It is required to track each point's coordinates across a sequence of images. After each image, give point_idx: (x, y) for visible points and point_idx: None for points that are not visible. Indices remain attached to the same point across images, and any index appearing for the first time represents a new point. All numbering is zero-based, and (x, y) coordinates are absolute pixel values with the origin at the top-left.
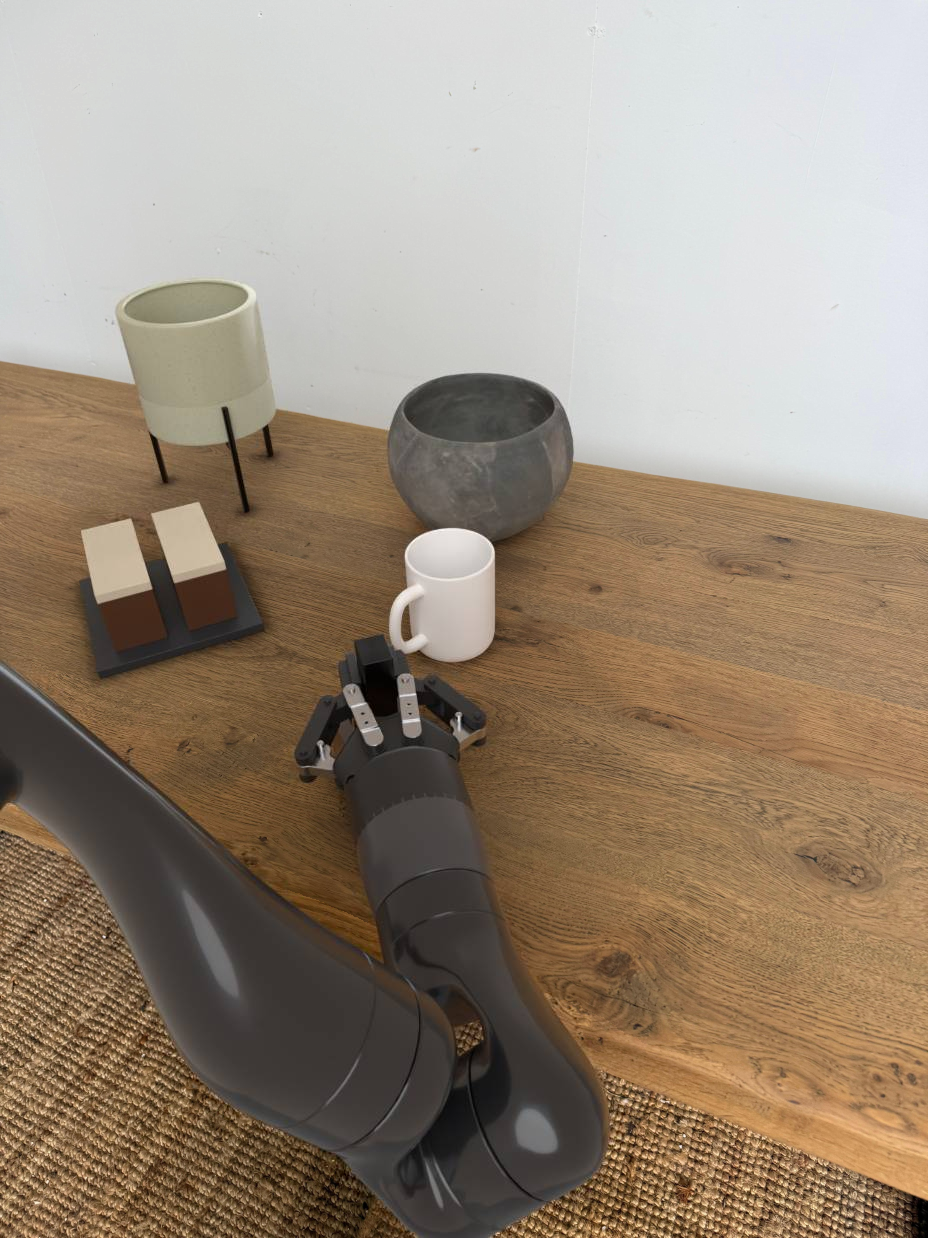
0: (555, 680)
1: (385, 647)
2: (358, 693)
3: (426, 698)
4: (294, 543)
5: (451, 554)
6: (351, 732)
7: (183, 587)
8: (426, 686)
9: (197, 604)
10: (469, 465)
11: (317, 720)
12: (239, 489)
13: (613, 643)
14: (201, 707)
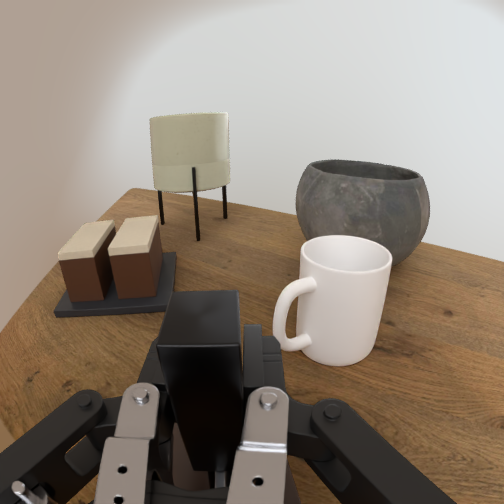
0: (431, 391)
1: (231, 316)
2: (149, 408)
3: (310, 448)
4: (220, 259)
5: (343, 263)
6: (179, 444)
7: (115, 260)
8: (316, 426)
9: (125, 278)
10: (362, 194)
11: (43, 435)
12: (195, 224)
13: (471, 357)
14: (96, 358)
